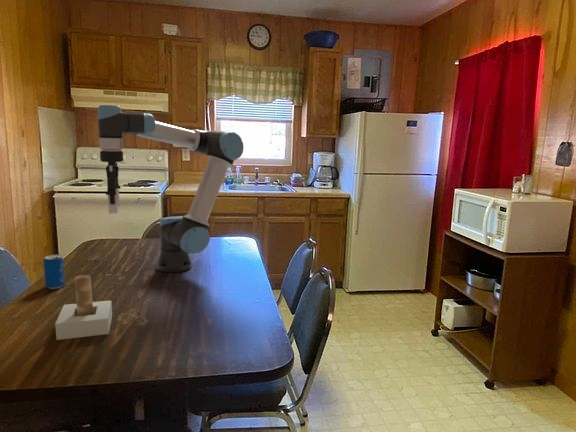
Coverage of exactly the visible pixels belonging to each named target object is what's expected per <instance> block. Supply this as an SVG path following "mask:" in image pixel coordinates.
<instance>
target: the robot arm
mask: <svg viewBox="0 0 576 432" xmlns="http://www.w3.org/2000/svg"><path fill="white" fill-rule="evenodd" d="M97 125H98V126H97V127H98V137H99V138H98V139H99V140H97V144H99V150H100V152H99V159H100V162H103V163H107V165H106V167H105V172H106V179H107V181H106V183H107V184H106V185H107V186H106V187H107V188H106V189H107V190H106V192H105V196H107V201H108V202H107V203H108V205H107V206H108V214H118V207H120V189H121V188H122V187H121V185H120V183H119V172H120V171H119V166H118V163H122V162H124V152H123V149H124V146H123V145H124V142H123V141H124V140H123V134H126V135H130V136H135V137H140V138H144V139H149V140H153V141H157V142H162V143H167V144H171V145H174V146H175V145H176V146H178V147H179V146H180V147H184V148H187V149H188V150H189V151H191V152H196V153H199V154H202V155H204V156H205V157H206V159H207V164H206V167H205V169H204V172H203V174H202V177H201V179H200V182H199V184H198V186H197V190H196V192H195V195H194V198H193V200H192V203H191V206H190V207H189V210H188V212H187V214H185V215H177V216H168V217H162V218H161V219H160V220H159V227H158V228H159V241H160V242H159V244H160V245H159V246H160V248H159V249H160V251H159V255H158V258H157V261H156V270H158V271H159V272H163V273H181V272H185V271H188V270H190V269H191V268H192V267H193V266H192V264H193V263H192V259H191V256H190V254H193V255H194V254H195V255H196V254H200V253H201V252H203V251H204V250H205V249H206V248H207V247H208V245H209V243H210V241H211V236H210V233H209V228H210V223H209V217H210V216H211V212H212V210H213V208H214V205H215V202H216V201H217V197H218V195H219V191H220V189H221V188H222V187H221V186H222V185H223V181H224V179H225V176H226V172H227V170H228V169H229V168H232V167H233V165H234V161H236V160H238V159H239V158H241V157H242V155H243V153H244V142H243V140H242V138H241V136H240V135H239V134H238V133H236V132H234V131H231V130H225V131H223V130H200V129H196V128H193V129H192V130H190V129H186V128H183V127H178V126H175V125H171V124H167V123H165V122H164V123H163V122H160V121H156V118H155V117H154V115H153V114H152V113H147V112H128V111H127V112H126V111H123V110H122V108H121V106H120V105H113V104H100V105H98V106H97Z"/></svg>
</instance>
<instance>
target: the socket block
mask: <svg viewBox="0 0 576 432" xmlns="http://www.w3.org/2000/svg"><path fill="white" fill-rule="evenodd" d="M92 303H93V315H86V316H77V304H76V303H68V304H63V306H62V308H61V310H60V312H59V314H58V316H57V319H56V321H55V324H54V326H55V327H54V328H55V336H56V337H55V338H56V341H58V340H59V341H60V340H70V339H77V338H86V337H93V336H95V337H96V336H104V335H110V330H111V329H110V328H111V324H112V317H113V305H112V300H104V301H92Z"/></svg>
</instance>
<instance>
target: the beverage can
mask: <svg viewBox="0 0 576 432" xmlns="http://www.w3.org/2000/svg"><path fill="white" fill-rule="evenodd" d="M43 270H44V272H43V273H44V283H45V287H46V288H48V289H50V290H55V289H60V288H63V286H64V285H66V282H65V280H66V279H65V269H64V258H63V257H62V255H61V254H50V255H46V256H44V259H43Z"/></svg>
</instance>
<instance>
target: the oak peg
mask: <svg viewBox="0 0 576 432" xmlns="http://www.w3.org/2000/svg"><path fill="white" fill-rule="evenodd" d="M91 278H92V277H91V275H89V274H82V275H77V276H75V277H74V290H75V304H77V316H86V315H93V303H92V302H93V294H92V290H93V289H92V279H91Z"/></svg>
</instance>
